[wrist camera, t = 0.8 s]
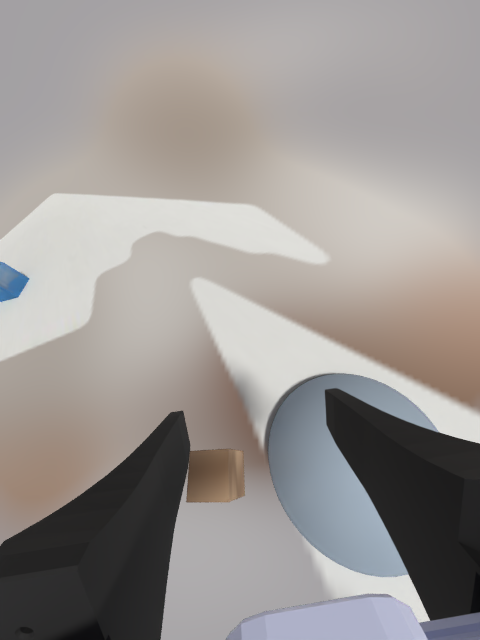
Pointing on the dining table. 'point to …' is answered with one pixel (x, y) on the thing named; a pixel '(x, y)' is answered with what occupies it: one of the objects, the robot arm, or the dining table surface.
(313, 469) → the slate dish
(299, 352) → the dining table surface
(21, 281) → the perfume bottle
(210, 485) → the walnut block
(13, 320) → the dining table surface
